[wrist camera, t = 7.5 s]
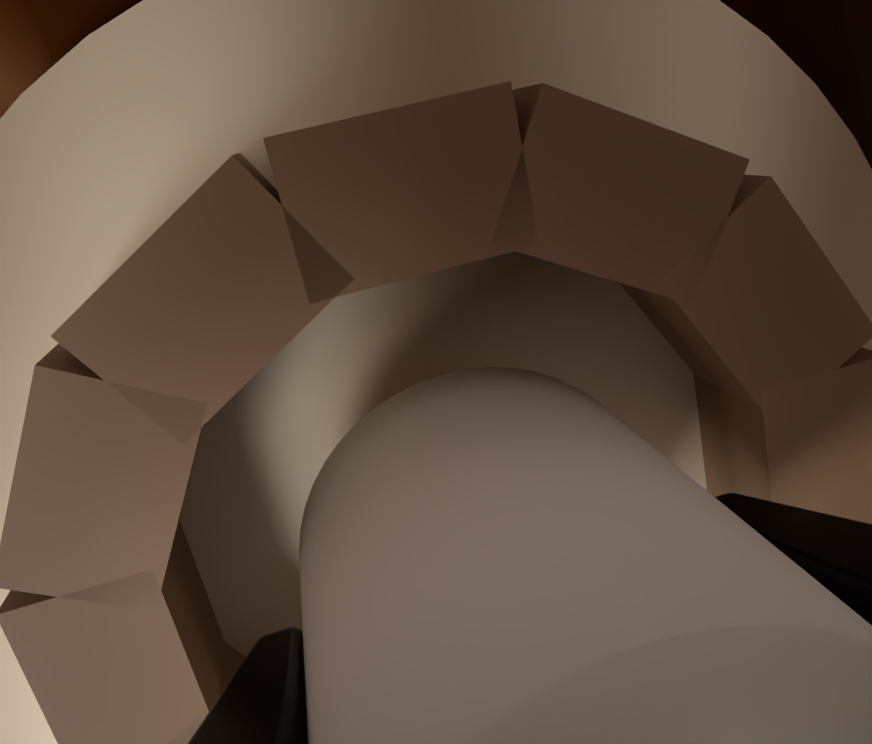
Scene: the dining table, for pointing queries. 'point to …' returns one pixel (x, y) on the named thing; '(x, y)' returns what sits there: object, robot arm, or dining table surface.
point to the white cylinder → (554, 587)
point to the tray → (385, 295)
